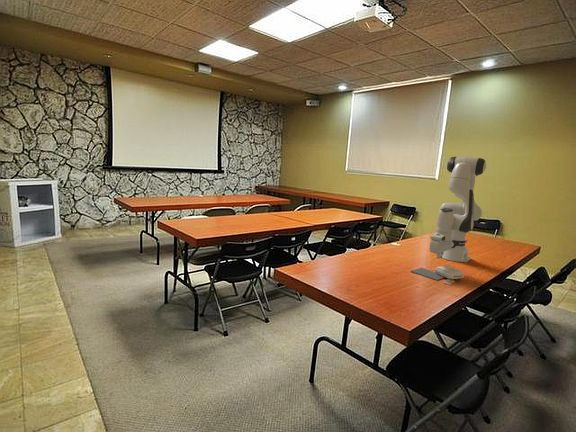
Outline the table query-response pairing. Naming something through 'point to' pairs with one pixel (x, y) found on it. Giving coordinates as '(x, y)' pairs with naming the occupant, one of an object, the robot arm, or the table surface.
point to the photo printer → (449, 272)
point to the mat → (428, 274)
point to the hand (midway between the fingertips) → (439, 258)
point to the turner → (449, 281)
